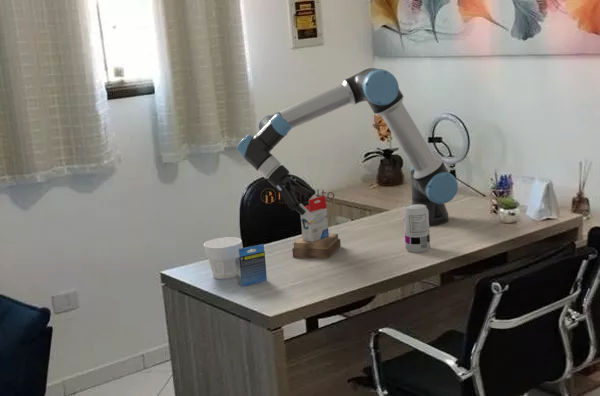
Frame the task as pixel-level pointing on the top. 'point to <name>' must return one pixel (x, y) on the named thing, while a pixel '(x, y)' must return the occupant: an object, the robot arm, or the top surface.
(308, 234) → the ink box
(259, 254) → the label tape box
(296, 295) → the top surface
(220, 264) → the cup
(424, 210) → the supplement can
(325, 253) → the pedestal
